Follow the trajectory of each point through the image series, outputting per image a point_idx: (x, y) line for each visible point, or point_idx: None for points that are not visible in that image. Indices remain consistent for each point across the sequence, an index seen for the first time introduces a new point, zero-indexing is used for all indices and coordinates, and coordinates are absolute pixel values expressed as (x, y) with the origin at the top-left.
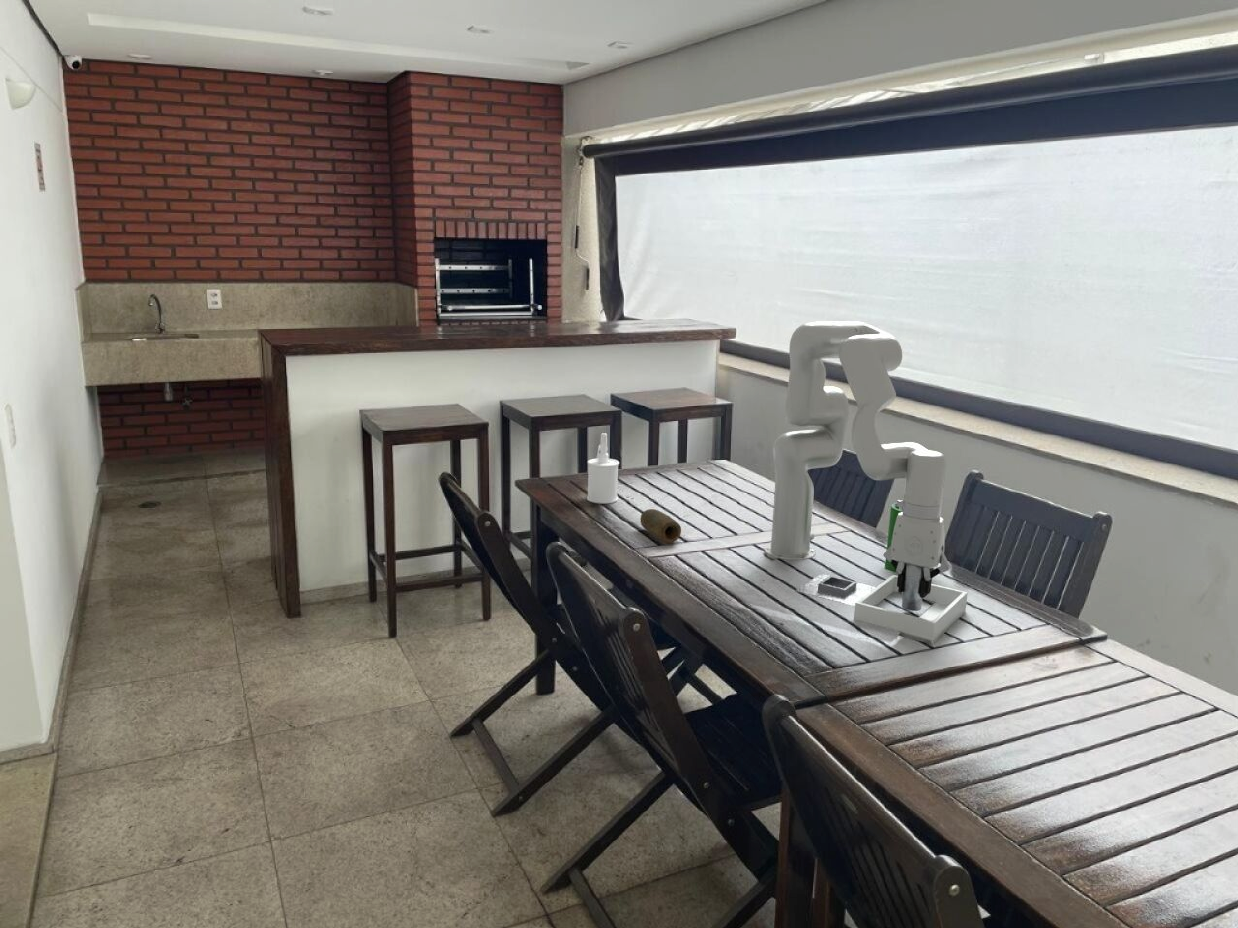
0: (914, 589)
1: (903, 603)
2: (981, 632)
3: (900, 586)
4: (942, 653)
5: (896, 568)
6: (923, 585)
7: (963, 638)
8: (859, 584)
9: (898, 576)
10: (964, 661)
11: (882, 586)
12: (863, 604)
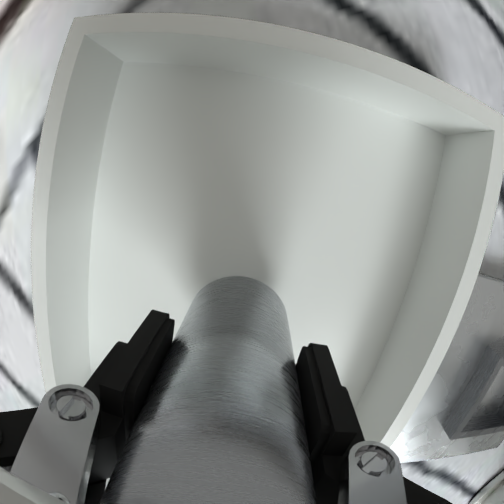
0: (207, 338)
1: (279, 304)
2: (7, 266)
3: (322, 365)
4: (90, 7)
5: (395, 483)
6: (125, 356)
7: (33, 179)
8: (425, 452)
9: (357, 434)
10: (39, 4)
11: (393, 419)
12: (479, 108)
